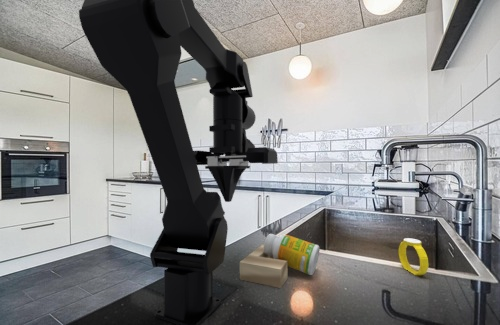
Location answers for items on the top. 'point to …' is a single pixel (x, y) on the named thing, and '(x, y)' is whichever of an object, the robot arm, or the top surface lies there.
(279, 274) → the beige c-shaped block
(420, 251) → the watch
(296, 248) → the supplement bottle
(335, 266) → the top surface
